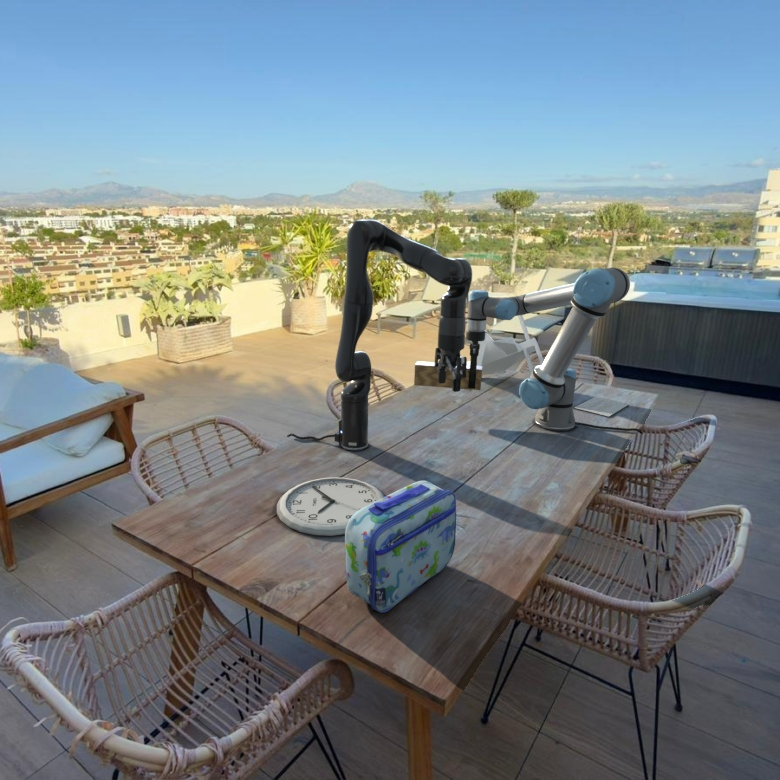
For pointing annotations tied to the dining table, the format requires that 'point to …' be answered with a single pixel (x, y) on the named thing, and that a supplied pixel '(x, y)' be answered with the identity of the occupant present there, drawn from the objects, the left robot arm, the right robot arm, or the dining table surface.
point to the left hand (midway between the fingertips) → (448, 387)
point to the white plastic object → (506, 352)
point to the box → (429, 376)
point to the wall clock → (325, 504)
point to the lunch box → (399, 543)
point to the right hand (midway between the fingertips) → (471, 385)
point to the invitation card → (601, 406)
